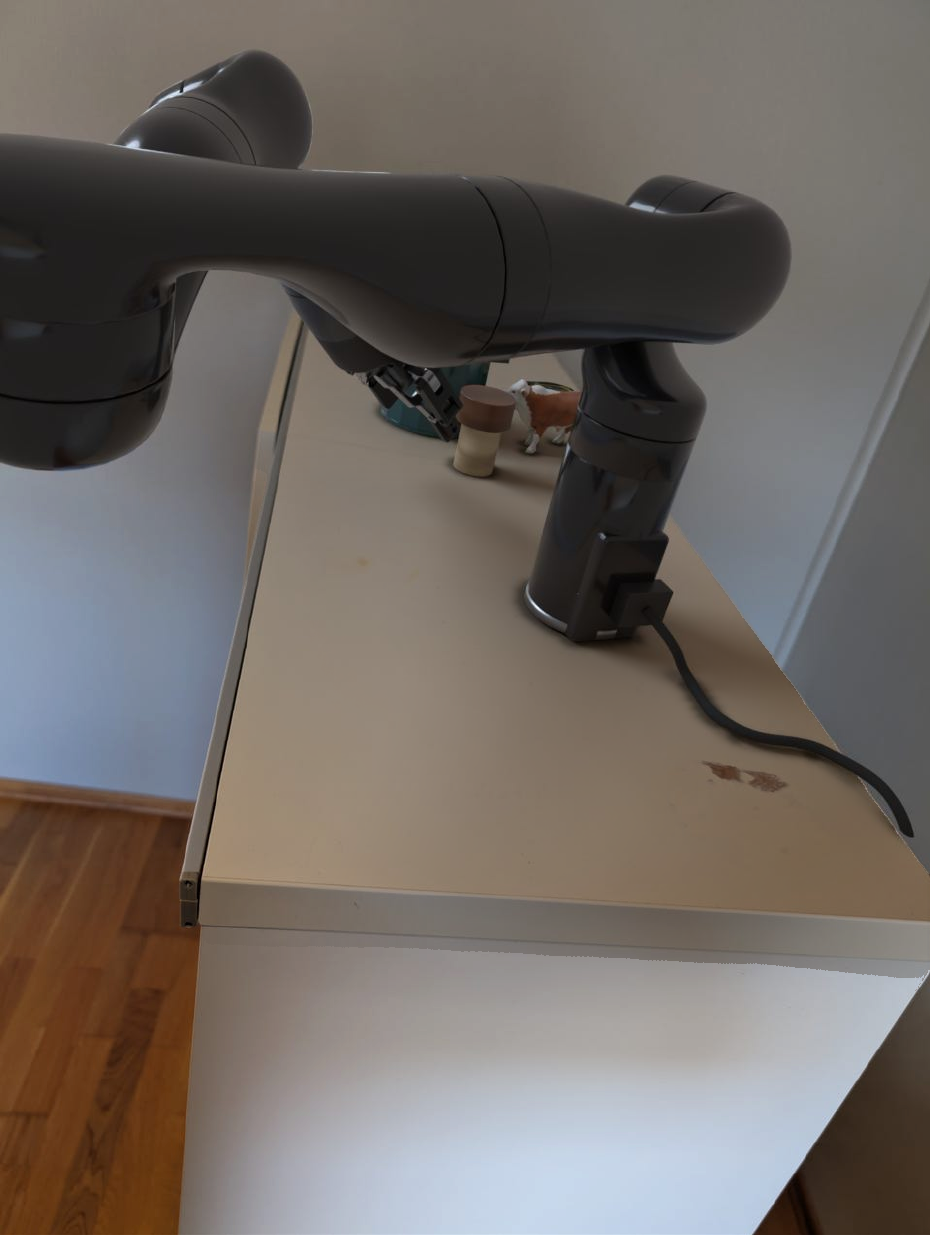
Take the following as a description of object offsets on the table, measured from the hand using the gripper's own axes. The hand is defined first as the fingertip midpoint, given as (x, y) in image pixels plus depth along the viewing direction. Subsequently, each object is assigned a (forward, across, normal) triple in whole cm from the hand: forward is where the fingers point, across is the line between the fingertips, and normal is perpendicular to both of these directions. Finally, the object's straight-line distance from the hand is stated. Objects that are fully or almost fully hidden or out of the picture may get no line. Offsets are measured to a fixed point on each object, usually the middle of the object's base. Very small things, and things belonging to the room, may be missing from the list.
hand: (421, 417), depth 85 cm
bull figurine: (+21, -1, +11) cm, 24 cm away
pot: (+16, -13, +6) cm, 21 cm away
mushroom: (+12, 0, +2) cm, 12 cm away
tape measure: (+29, -9, +18) cm, 35 cm away
